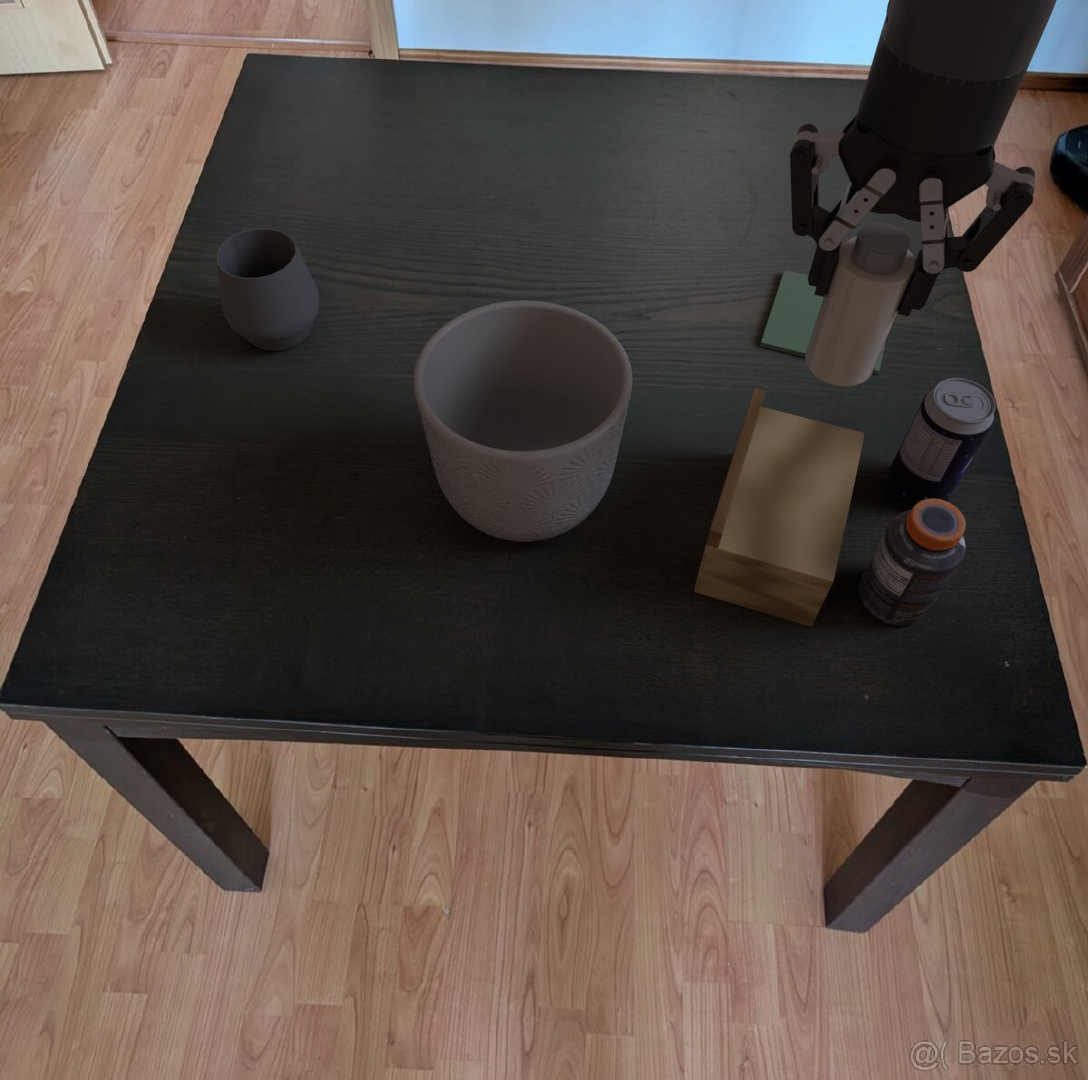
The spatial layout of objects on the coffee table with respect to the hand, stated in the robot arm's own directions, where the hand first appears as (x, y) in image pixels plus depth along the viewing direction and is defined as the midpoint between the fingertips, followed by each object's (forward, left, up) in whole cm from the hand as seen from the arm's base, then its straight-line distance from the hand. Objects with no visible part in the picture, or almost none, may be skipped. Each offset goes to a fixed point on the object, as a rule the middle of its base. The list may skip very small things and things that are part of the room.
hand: (863, 297), depth 61 cm
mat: (0, -28, -26) cm, 38 cm away
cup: (+53, -7, -26) cm, 60 cm away
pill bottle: (-10, +4, -26) cm, 29 cm away
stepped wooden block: (0, +1, -26) cm, 26 cm away
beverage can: (-11, -8, -26) cm, 30 cm away
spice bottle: (0, 0, -6) cm, 6 cm away
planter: (+22, +4, -26) cm, 35 cm away
